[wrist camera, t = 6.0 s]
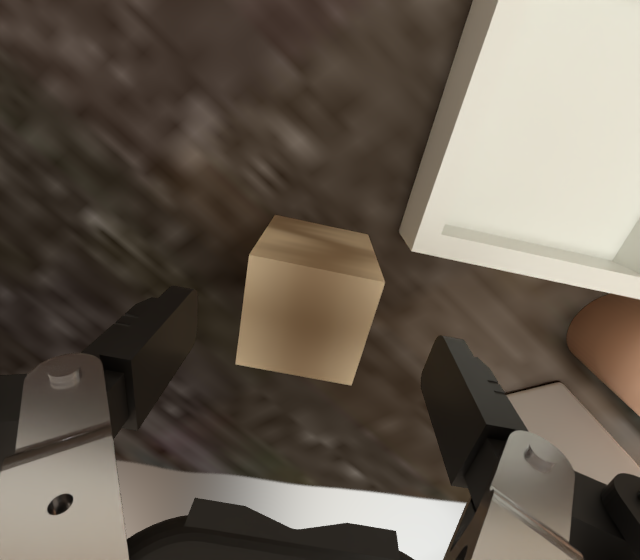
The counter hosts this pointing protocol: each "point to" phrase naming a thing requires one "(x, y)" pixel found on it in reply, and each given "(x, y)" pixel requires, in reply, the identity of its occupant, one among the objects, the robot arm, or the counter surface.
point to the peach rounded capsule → (610, 344)
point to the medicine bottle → (572, 431)
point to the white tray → (538, 146)
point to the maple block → (309, 300)
